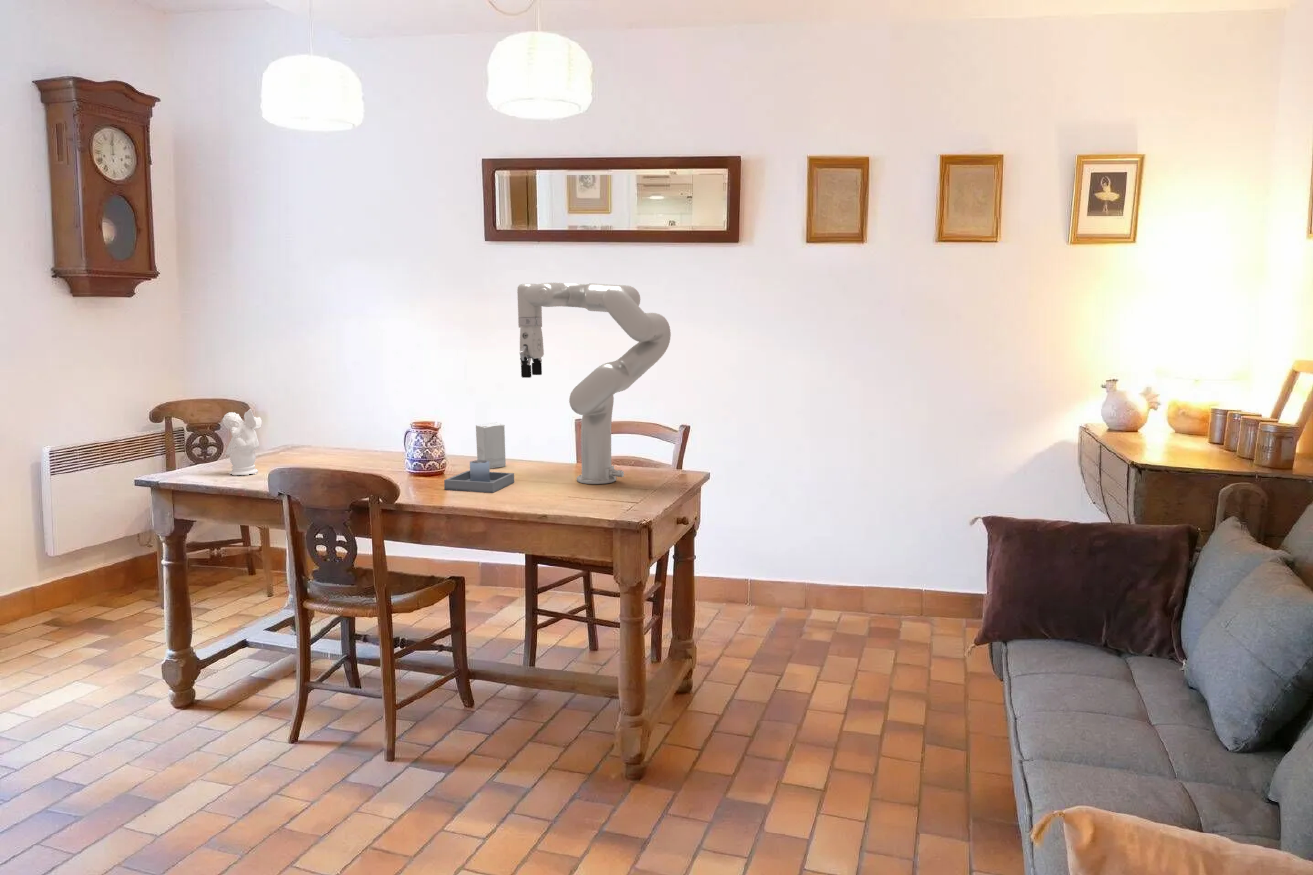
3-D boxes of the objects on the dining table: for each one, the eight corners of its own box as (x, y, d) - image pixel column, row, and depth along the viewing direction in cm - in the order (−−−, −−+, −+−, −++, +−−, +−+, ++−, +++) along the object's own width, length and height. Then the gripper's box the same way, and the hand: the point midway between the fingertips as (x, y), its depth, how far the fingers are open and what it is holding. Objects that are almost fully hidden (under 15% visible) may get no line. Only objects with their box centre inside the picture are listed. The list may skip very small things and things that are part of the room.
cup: (493, 482, 303) (492, 460, 302) (485, 486, 298) (484, 463, 297) (475, 481, 305) (474, 459, 304) (467, 485, 299) (466, 462, 298)
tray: (514, 482, 307) (514, 473, 306) (492, 492, 292) (492, 483, 291) (467, 479, 311) (467, 470, 310) (444, 489, 296) (444, 480, 295)
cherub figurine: (221, 474, 318) (216, 408, 315) (253, 468, 329) (249, 404, 325) (246, 477, 312) (241, 409, 309) (278, 471, 323) (273, 405, 319)
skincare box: (497, 464, 337) (496, 422, 335) (506, 467, 333) (505, 424, 330) (476, 467, 332) (475, 424, 330) (484, 469, 327) (483, 426, 325)
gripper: (531, 323, 301) (533, 378, 304) (550, 321, 318) (551, 374, 321) (509, 323, 303) (510, 378, 306) (528, 321, 320) (530, 373, 322)
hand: (531, 376), depth 313 cm, fingers open, 9 cm apart
